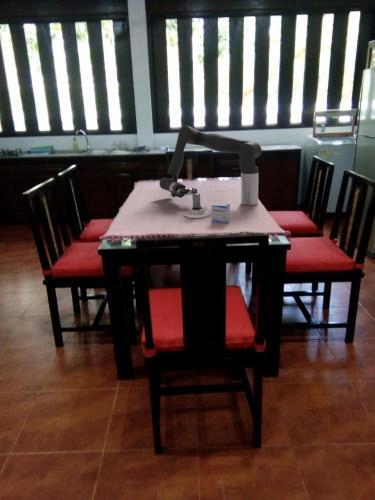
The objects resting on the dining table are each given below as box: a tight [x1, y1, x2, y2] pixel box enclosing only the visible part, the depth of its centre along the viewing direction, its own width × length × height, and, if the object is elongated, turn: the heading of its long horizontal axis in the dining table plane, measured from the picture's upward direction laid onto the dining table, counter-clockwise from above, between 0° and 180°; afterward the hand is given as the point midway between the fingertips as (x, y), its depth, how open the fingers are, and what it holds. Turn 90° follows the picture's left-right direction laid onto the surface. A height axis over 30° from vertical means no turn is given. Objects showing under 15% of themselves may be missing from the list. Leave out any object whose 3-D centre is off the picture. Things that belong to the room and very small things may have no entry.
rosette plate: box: [183, 206, 212, 219], centre depth 204 cm, size 14×14×3 cm
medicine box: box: [211, 203, 231, 224], centre depth 189 cm, size 8×4×9 cm, turn 68°
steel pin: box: [191, 192, 202, 210], centre depth 203 cm, size 4×4×10 cm
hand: (188, 195), depth 211 cm, fingers open, 8 cm apart
